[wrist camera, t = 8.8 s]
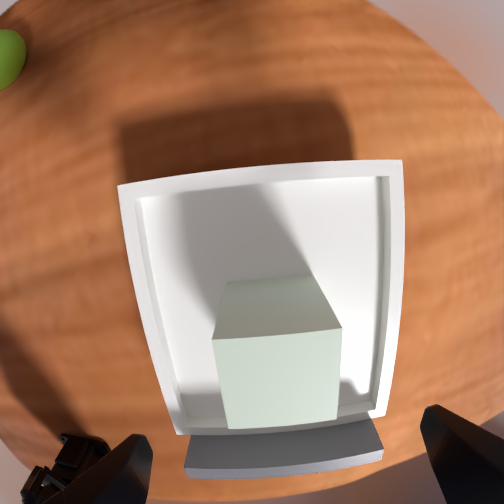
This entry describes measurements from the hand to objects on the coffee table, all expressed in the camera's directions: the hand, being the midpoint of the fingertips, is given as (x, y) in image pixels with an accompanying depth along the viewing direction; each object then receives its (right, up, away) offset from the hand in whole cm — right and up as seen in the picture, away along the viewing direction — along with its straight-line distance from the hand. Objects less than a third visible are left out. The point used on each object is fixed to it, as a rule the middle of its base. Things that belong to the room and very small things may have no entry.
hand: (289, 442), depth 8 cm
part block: (0, +2, +9) cm, 9 cm away
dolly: (0, +3, +13) cm, 13 cm away
